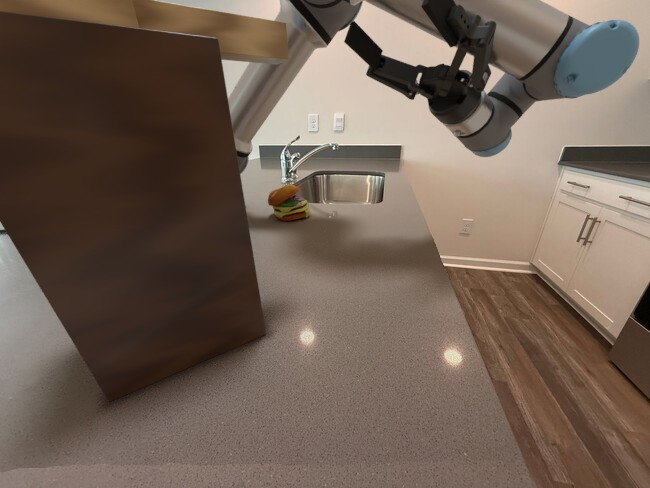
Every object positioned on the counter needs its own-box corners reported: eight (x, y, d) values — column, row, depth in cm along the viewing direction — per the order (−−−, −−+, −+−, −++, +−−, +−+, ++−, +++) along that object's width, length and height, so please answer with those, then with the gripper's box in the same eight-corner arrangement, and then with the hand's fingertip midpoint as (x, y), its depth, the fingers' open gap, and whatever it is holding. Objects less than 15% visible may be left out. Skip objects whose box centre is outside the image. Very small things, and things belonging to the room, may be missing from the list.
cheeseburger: (306, 223, 67) (294, 186, 63) (270, 230, 70) (257, 195, 67) (315, 210, 76) (305, 177, 72) (282, 217, 79) (271, 185, 75)
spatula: (-66, 5, 13) (-110, -79, 12) (17, 52, 22) (-3, 6, 20) (307, 50, 24) (305, 8, 22) (265, 70, 32) (262, 40, 31)
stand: (108, 402, 25) (-140, -8, 12) (119, 327, 34) (-15, 50, 21) (266, 334, 32) (218, 37, 20) (240, 288, 42) (195, 66, 29)
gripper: (531, 124, 36) (465, 10, 23) (396, 126, 55) (319, 65, 42) (559, 68, 34) (505, -86, 22) (411, 91, 54) (336, 17, 41)
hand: (381, 13), depth 32 cm, fingers open, 13 cm apart
